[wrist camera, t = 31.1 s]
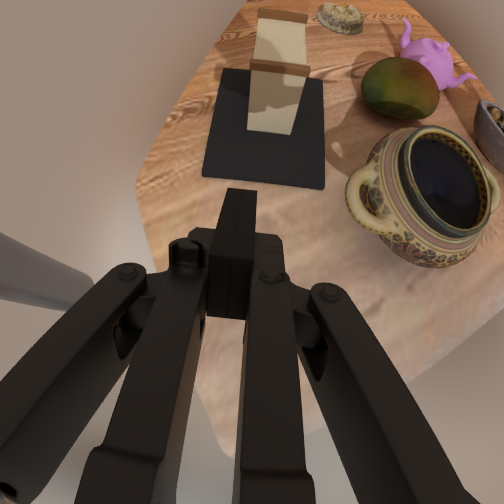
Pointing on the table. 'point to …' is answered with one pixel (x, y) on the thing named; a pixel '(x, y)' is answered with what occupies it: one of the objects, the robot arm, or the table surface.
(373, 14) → the table surface
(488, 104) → the planter
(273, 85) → the cream rectangular block
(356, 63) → the table surface
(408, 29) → the teapot
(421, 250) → the ceramic bowl
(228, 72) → the base
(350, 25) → the cake
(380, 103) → the fruit
